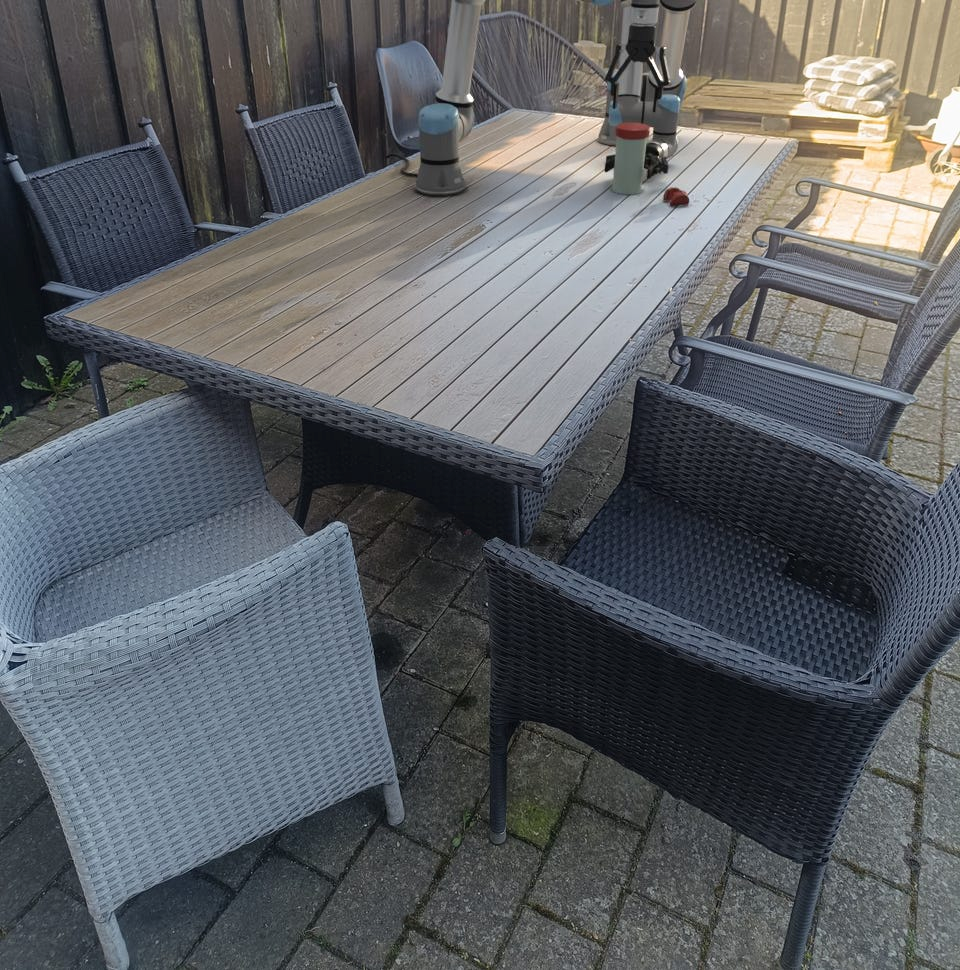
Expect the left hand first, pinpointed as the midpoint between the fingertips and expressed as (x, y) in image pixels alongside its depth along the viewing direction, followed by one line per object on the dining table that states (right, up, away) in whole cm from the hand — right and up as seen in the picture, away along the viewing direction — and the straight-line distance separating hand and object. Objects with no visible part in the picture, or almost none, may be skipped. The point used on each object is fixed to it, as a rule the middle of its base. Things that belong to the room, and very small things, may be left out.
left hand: (634, 109), depth 245 cm
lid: (0, -4, +3) cm, 5 cm away
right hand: (-1, -15, +8) cm, 17 cm away
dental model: (+13, -26, +3) cm, 29 cm away
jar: (0, -19, +13) cm, 23 cm away
